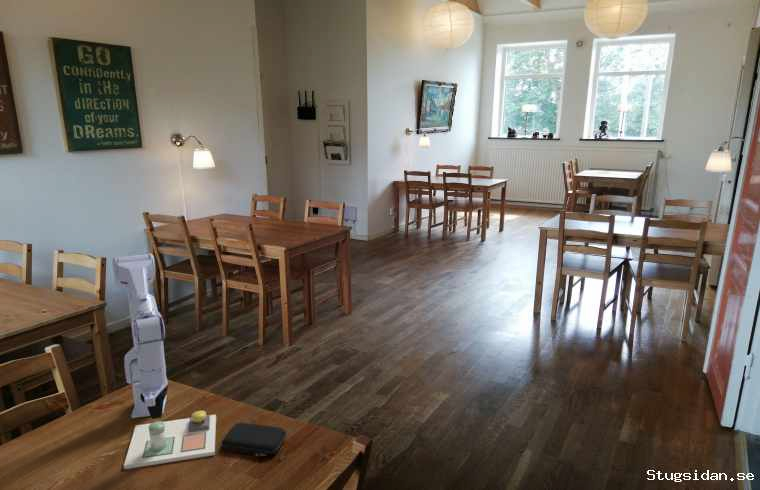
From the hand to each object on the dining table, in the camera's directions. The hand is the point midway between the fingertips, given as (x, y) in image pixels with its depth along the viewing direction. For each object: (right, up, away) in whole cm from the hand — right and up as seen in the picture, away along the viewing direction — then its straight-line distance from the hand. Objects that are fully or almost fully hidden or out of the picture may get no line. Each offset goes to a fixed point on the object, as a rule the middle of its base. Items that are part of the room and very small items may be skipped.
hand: (156, 416), depth 119 cm
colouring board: (+2, -8, +6) cm, 10 cm away
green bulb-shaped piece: (0, -8, +2) cm, 8 cm away
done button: (+6, -5, +11) cm, 13 cm away
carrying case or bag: (+22, -9, +6) cm, 24 cm away
